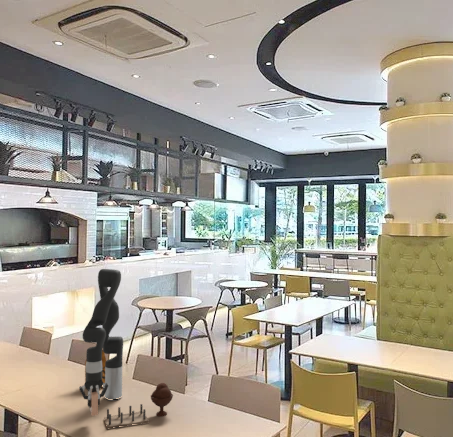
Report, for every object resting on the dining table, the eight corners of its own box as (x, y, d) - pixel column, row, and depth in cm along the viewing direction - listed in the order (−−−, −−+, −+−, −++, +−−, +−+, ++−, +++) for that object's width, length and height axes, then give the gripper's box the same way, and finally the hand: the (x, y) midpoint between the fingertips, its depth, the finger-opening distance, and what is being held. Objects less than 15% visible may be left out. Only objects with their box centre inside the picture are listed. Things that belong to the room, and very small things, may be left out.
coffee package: (98, 390, 263) (99, 351, 263) (82, 387, 268) (82, 349, 269) (110, 385, 272) (110, 348, 272) (94, 382, 277) (94, 345, 278)
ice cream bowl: (146, 414, 229) (146, 384, 229) (164, 408, 237) (164, 379, 237) (158, 420, 221) (159, 389, 222) (177, 414, 229) (177, 384, 230)
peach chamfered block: (89, 407, 220) (89, 388, 220) (95, 407, 221) (95, 387, 222) (91, 415, 211) (91, 395, 211) (97, 415, 212) (98, 394, 212)
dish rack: (104, 419, 222) (104, 407, 223) (143, 413, 230) (143, 402, 230) (107, 429, 211) (107, 416, 212) (148, 423, 218) (148, 411, 219)
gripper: (108, 365, 223) (107, 401, 222) (77, 369, 217) (77, 405, 217) (110, 370, 216) (109, 407, 215) (79, 374, 210) (78, 411, 210)
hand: (93, 406), depth 216 cm, fingers closed on peach chamfered block, 2 cm apart
